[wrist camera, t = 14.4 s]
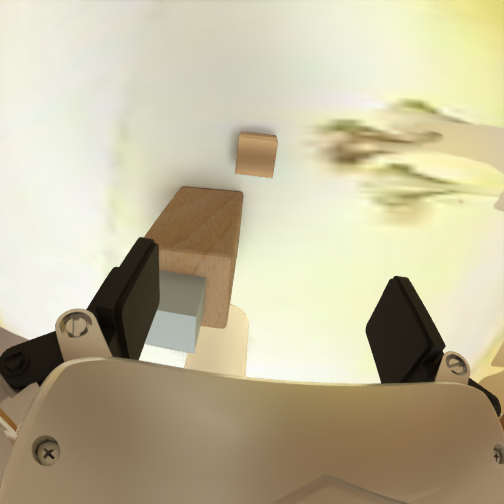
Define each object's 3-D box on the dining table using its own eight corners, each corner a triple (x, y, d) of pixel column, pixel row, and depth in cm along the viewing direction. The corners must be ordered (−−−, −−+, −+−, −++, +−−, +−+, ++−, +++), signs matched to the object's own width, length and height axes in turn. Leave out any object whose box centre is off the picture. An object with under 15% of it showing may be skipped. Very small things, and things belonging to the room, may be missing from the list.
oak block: (242, 131, 42) (238, 137, 37) (275, 135, 42) (277, 141, 37) (238, 163, 45) (234, 173, 39) (271, 167, 45) (272, 178, 39)
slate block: (159, 269, 30) (141, 306, 25) (206, 277, 31) (196, 316, 25) (160, 306, 33) (145, 344, 28) (203, 313, 33) (194, 353, 28)
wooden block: (180, 241, 51) (144, 319, 34) (181, 185, 46) (134, 246, 29) (238, 247, 52) (226, 331, 34) (243, 191, 47) (232, 257, 29)
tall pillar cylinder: (228, 347, 64) (217, 450, 42) (187, 324, 61) (159, 428, 39) (259, 320, 60) (257, 432, 38) (215, 293, 57) (192, 407, 35)
